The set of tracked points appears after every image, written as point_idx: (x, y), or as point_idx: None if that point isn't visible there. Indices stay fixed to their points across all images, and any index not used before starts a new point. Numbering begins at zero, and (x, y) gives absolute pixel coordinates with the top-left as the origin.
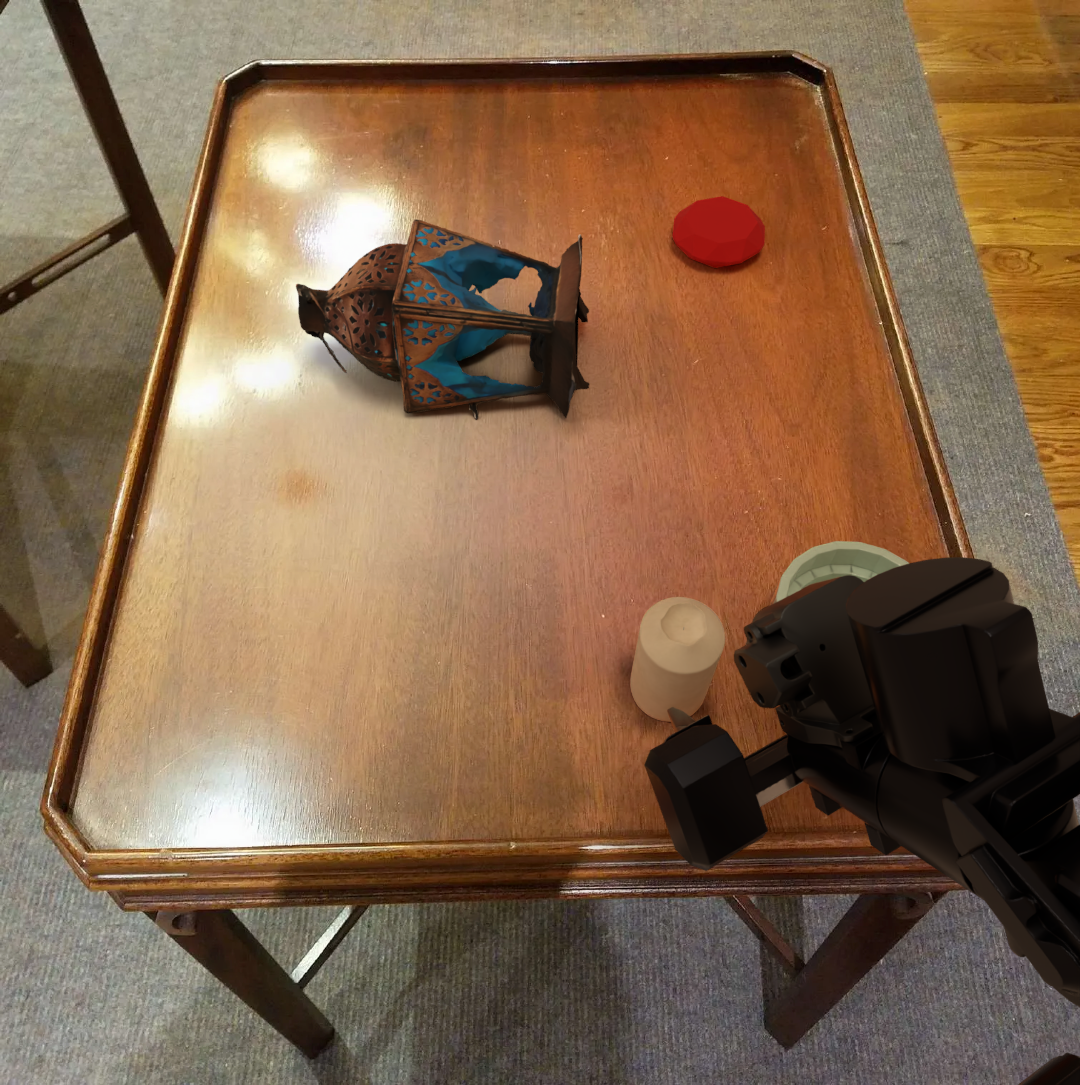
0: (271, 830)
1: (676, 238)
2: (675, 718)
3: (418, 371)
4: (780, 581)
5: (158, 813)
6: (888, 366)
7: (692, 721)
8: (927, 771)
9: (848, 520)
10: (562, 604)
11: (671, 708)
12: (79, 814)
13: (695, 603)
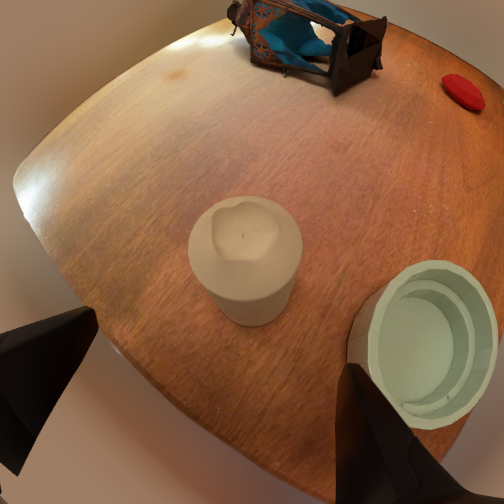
0: (31, 212)
1: (443, 79)
2: (43, 322)
3: (258, 35)
4: (404, 270)
5: (23, 181)
6: None
7: (11, 345)
8: None
9: (471, 265)
10: (235, 184)
11: (84, 308)
12: (17, 169)
13: (282, 218)
